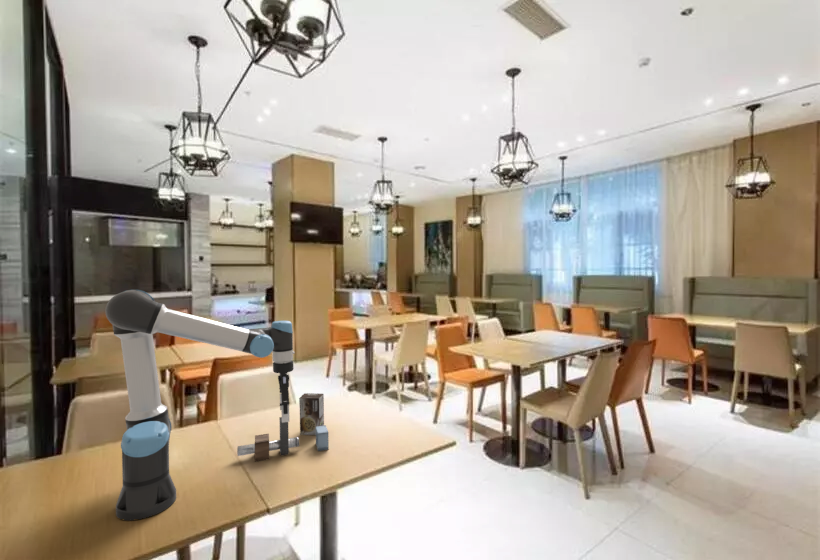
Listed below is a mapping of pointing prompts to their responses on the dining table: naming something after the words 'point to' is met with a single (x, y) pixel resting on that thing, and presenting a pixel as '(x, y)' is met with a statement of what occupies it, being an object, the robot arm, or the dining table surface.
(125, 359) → the robot arm
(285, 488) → the dining table surface
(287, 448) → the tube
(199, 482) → the dining table surface
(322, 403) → the coffee box
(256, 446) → the sleeve
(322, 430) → the socket
